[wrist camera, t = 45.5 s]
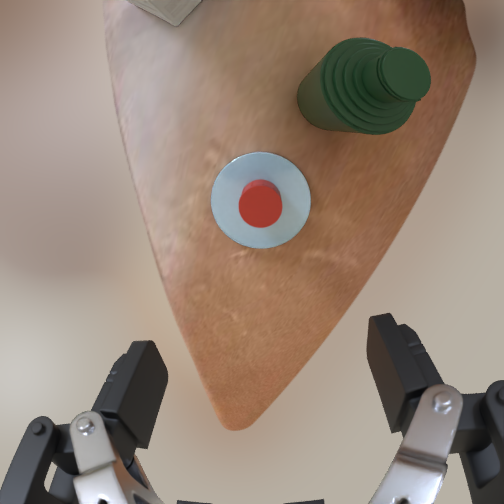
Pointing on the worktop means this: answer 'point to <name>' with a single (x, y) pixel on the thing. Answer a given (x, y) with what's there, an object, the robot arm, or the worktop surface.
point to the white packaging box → (168, 8)
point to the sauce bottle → (363, 87)
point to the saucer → (276, 172)
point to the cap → (260, 203)
